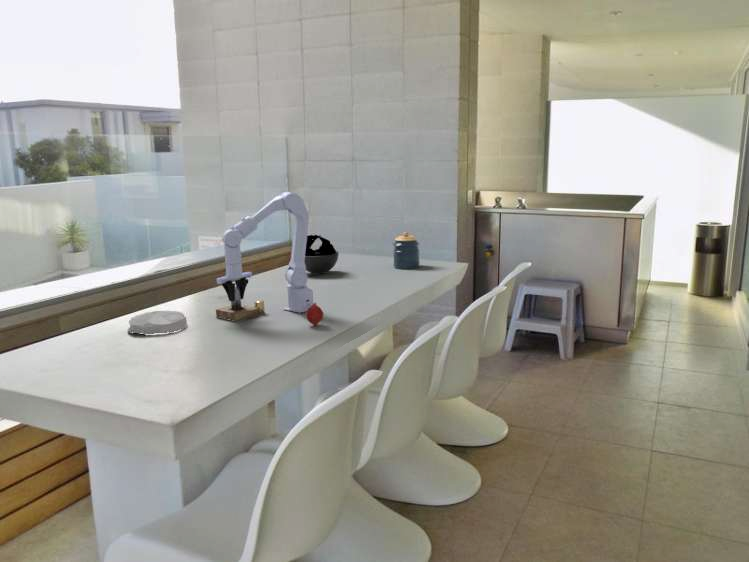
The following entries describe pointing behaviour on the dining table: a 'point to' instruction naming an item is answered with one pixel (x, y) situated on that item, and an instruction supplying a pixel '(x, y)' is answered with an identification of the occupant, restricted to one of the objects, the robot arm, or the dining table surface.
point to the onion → (314, 314)
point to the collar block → (237, 313)
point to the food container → (157, 322)
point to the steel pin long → (236, 299)
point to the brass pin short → (259, 306)
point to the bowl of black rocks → (320, 256)
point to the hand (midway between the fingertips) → (236, 299)
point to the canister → (406, 252)
